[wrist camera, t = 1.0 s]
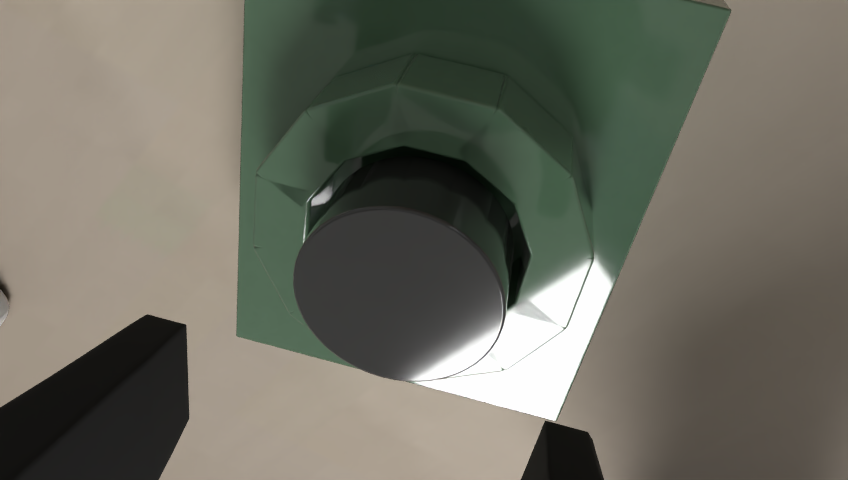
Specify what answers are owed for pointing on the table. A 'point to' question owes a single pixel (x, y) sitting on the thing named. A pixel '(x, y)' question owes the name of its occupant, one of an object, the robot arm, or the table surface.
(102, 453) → the robot arm
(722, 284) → the table surface
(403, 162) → the black push button
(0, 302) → the eye dropper bottle
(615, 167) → the green button base
